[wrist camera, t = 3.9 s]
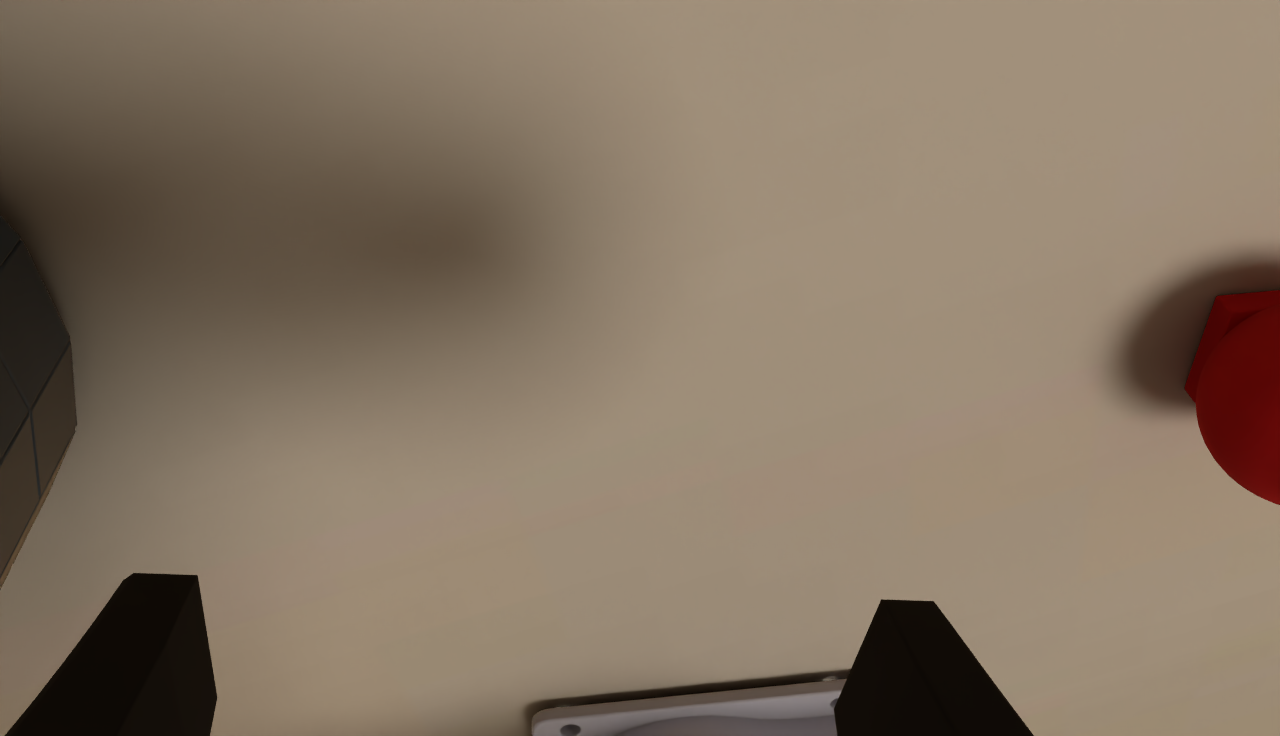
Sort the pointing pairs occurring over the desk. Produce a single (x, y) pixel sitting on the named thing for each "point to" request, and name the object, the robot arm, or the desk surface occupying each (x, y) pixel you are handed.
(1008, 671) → the desk surface
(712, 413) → the desk surface
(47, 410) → the bowl
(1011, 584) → the desk surface
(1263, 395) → the strawberry
